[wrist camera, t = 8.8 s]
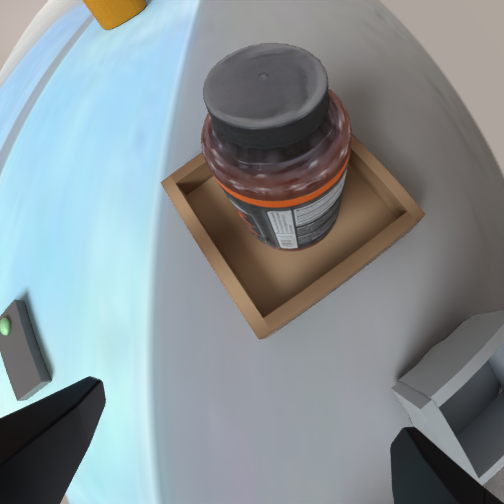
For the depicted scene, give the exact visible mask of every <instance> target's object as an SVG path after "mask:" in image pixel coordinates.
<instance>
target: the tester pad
mask: <svg viewBox="0 0 504 504" xmlns="http://www.w3.org/2000/svg"><path fill="white" fill-rule="evenodd" d="M0 352H1V355H2V359H3V362H4V365H5V368H6V371H7V374H8V377H9V380H10V383H11V385H12V388H13V391H14V393H15V396H16V399H17V401H21V400H27V399H28V398H30V397H31V396H32V395H34V394H35V393H36V392H38V391H39V390H40V389H42V388H43V387H44V386H46V385H47V384H48V383H50V382H51V379H50V376H49V374H48V371H47V369H46V366H45V364H44V361H43V359H42V356H41V353H40V350H39V348H38V345H37V342H36V339H35V336H34V333H33V330H32V327H31V324H30V320H29V317H28V314H27V310H26V307H25V303H24V301H20V300H14V301H13V302H12V303H11V304H10V306H9V307H8V308H7V309H6V310H5V311H4V313H3V314H2V315H1V316H0Z"/></svg>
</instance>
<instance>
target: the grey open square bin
mask: <svg viewBox="0 0 504 504" xmlns="http://www.w3.org/2000/svg"><path fill="white" fill-rule="evenodd" d="M399 381H400V382H399V383H397V384H396V385H395V386H393V387H392V388H391V389H392V391H393V392H394V394H395V395H396V397H397V398H398V400H399V401H400V403H401V404H402V406H403V407H404V409H405V410H406V412H407V413H408V415H409V418H410V420H411V422H412V424H413V426H414V427H416V428H417V429H418V430H419V431H421V432H422V433H423V434H424V435H425V436H426V437H427V438H428V439H430V440H431V441H432V442H433V443H434V444H435V445H436V446H437V447H439V448H440V449H441V450H442V451H443V452H444V453H445V454H446V455H448V456H449V457H450V458H451V459H452V460H453V461H454V462H456V463H457V464H458V465H459V466H460V467H461V468H462V469H464V470H465V471H466V472H467V473H468V474H469V475H470V476H472V477H473V478H474V479H475V480H476V481H477V482H479V483H480V484H481V485H484V484H485V483H486V482H487V481H488V480H489V479H490V478H491V477H493V476H494V475H495V474H496V473H497V472H498V471H499V470H500V469H501V468H502V467H503V466H504V310H500V311H494V312H488V313H482V314H476V315H472V316H471V317H470V318H469V319H468V320H465V321H464V322H463V323H462V324H461V325H460V326H459V327H458V328H457V329H456V330H455V331H453V332H452V333H451V334H450V335H449V336H448V337H447V338H446V339H444V340H442V341H440V342H439V343H437V344H435V345H434V346H433V347H432V348H430V349H429V350H428V351H427V352H426V353H425V354H424V356H423V357H422V358H421V359H420V361H419V362H418V364H417V365H416V366H415V367H414V368H412V369H411V370H410V371H409V372H407V373H406V374H405V375H404V376H403V377H401V378H400V379H399ZM500 385H501V387H502V389H503V391H502V392H501V393H500V394H499V395H498V392H499V388H500Z"/></svg>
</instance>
